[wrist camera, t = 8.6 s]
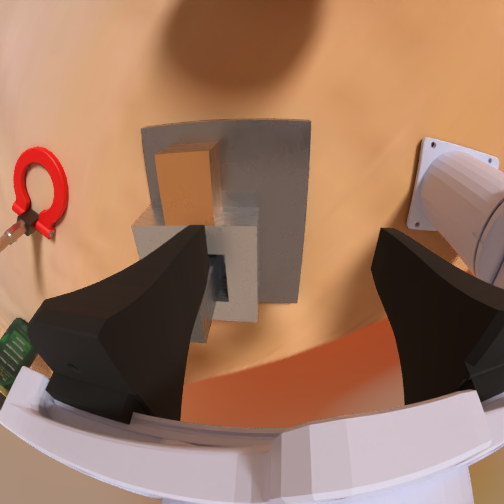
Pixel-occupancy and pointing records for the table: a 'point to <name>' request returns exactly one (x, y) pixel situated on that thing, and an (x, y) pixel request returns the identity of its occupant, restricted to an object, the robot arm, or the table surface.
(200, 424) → the robot arm
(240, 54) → the table surface
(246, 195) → the bracket fixture
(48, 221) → the tow hook
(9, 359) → the coffee jar
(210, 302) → the pin
